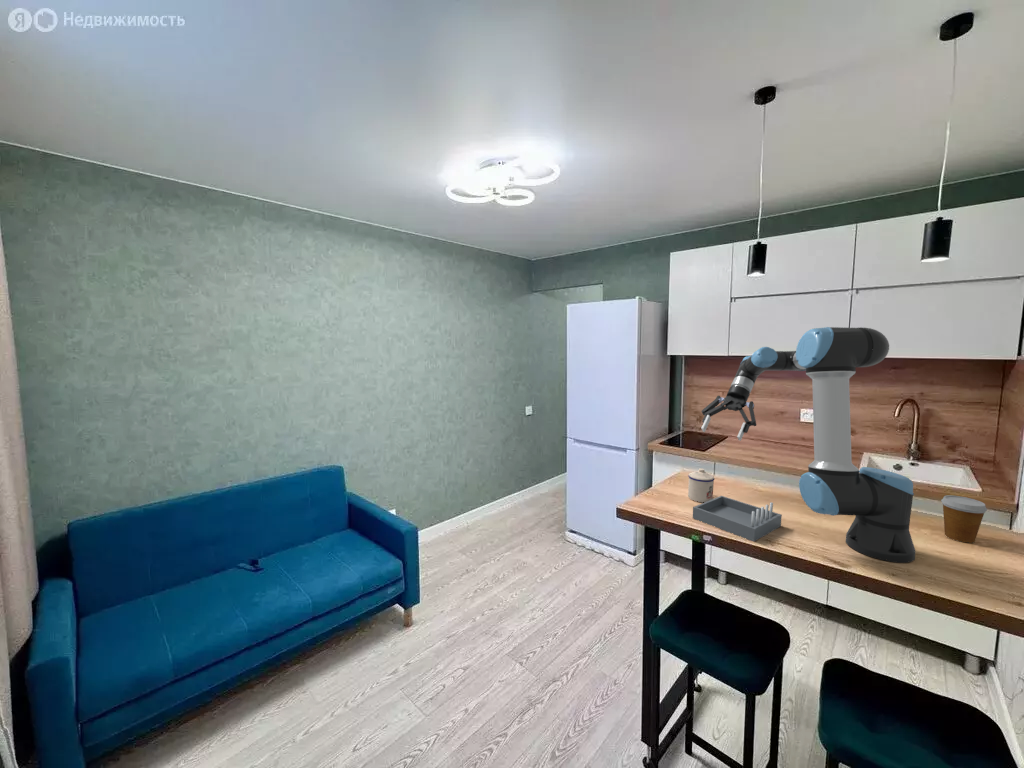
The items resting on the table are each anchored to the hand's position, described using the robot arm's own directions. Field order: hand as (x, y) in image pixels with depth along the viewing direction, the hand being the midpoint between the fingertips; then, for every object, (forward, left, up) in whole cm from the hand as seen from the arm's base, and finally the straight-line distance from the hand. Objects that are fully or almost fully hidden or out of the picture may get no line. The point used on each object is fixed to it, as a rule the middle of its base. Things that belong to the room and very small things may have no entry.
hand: (720, 434), depth 161 cm
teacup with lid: (+2, +9, -24) cm, 26 cm away
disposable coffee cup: (-62, -25, -24) cm, 71 cm away
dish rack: (-17, +20, -24) cm, 35 cm away
